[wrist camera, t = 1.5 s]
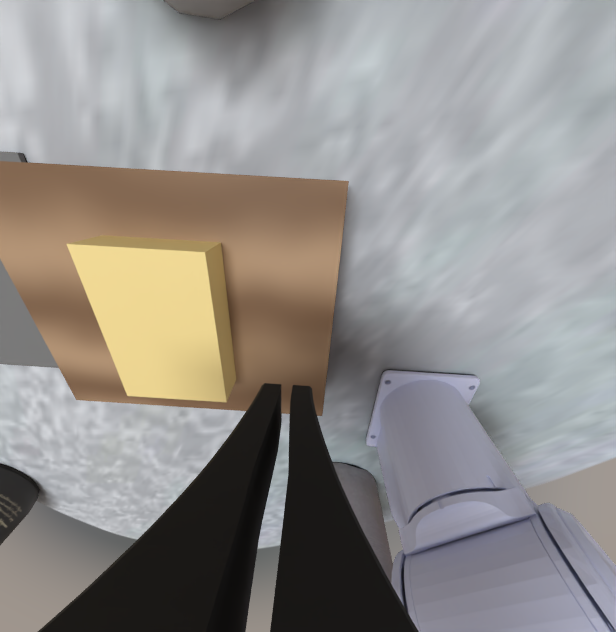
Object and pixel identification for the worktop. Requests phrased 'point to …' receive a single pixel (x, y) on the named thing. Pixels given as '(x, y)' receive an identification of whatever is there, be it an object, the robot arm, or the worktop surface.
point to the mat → (19, 318)
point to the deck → (182, 224)
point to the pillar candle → (366, 510)
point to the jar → (14, 499)
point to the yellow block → (161, 314)
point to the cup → (208, 7)
